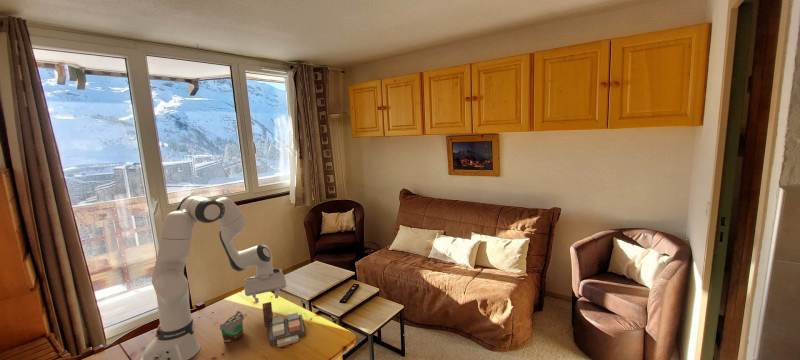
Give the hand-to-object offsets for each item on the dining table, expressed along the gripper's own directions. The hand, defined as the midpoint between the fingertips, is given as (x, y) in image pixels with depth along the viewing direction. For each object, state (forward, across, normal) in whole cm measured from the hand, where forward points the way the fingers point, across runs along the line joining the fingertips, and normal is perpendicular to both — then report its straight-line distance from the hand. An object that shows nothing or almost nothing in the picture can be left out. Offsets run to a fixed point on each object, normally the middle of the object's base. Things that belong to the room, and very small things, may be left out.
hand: (266, 300), depth 166 cm
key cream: (+19, +4, -9) cm, 22 cm away
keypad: (+20, +8, -6) cm, 22 cm away
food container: (+15, -14, 0) cm, 20 cm away
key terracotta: (+19, +11, -9) cm, 24 cm away
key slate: (+14, +11, -4) cm, 19 cm away
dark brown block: (+10, 0, +4) cm, 11 cm away
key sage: (+14, +4, -4) cm, 15 cm away
